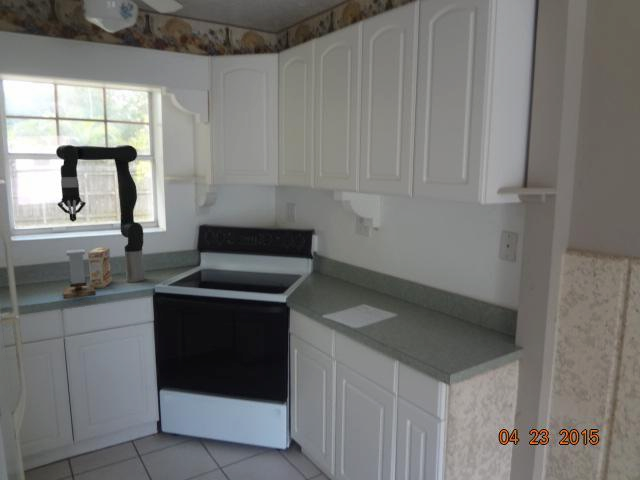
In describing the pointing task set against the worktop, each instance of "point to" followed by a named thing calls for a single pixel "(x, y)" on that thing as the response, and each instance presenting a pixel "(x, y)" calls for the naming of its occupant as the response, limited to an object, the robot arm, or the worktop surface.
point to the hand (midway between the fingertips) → (73, 221)
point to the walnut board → (78, 291)
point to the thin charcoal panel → (78, 284)
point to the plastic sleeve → (76, 265)
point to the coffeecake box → (100, 267)
